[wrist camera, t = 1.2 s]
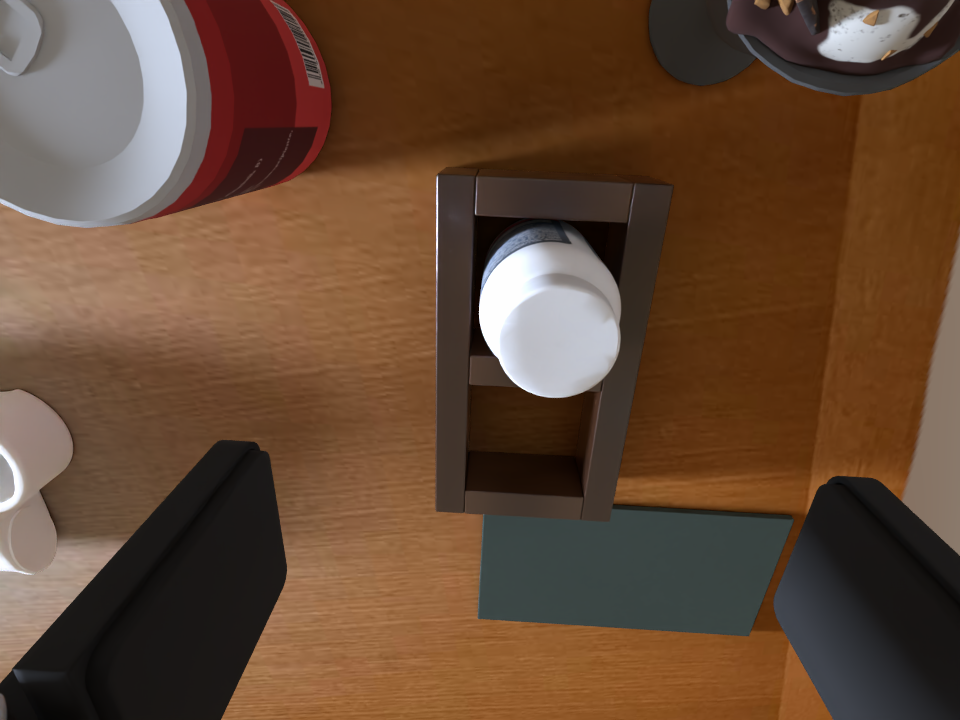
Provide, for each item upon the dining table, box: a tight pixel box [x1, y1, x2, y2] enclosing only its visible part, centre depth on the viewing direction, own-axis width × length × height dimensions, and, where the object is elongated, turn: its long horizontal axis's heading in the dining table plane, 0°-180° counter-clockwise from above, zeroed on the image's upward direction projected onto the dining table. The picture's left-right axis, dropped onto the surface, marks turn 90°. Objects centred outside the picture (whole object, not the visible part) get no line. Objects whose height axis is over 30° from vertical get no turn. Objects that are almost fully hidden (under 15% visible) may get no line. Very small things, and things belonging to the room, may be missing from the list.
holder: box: [435, 167, 674, 522], centre depth 24 cm, size 9×16×4 cm, turn 178°
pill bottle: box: [479, 218, 621, 398], centre depth 20 cm, size 5×5×9 cm
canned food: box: [0, 0, 332, 228], centre depth 16 cm, size 8×8×11 cm
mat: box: [478, 505, 794, 636], centre depth 32 cm, size 18×10×1 cm, turn 88°
